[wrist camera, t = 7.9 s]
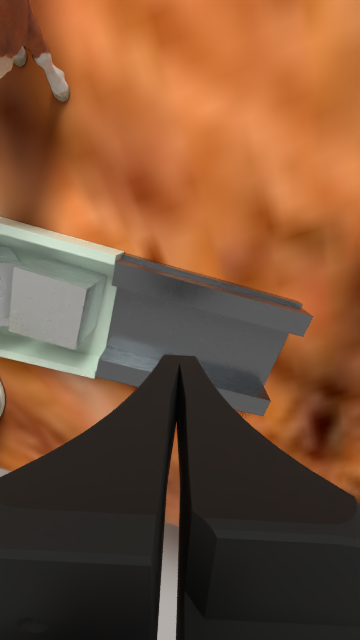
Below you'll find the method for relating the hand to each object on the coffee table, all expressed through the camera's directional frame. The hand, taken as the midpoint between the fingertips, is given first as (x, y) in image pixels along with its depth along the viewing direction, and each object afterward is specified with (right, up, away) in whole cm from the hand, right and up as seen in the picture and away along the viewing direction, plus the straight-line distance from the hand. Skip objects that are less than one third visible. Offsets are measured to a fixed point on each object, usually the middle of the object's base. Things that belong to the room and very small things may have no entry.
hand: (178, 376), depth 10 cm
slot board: (+1, +1, +10) cm, 10 cm away
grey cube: (-8, +4, +8) cm, 12 cm away
